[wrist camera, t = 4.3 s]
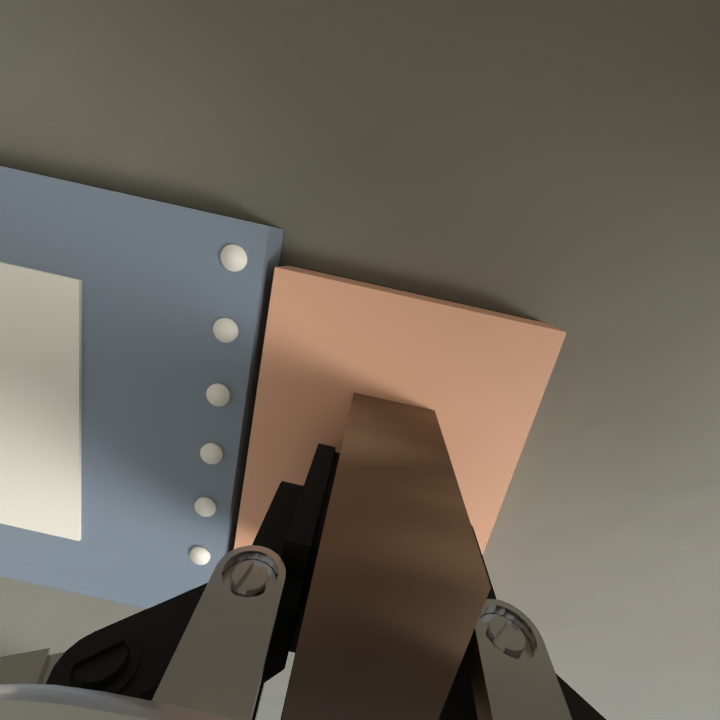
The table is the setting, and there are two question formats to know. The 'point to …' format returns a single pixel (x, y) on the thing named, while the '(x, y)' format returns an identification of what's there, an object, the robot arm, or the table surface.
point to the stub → (390, 478)
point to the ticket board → (124, 386)
